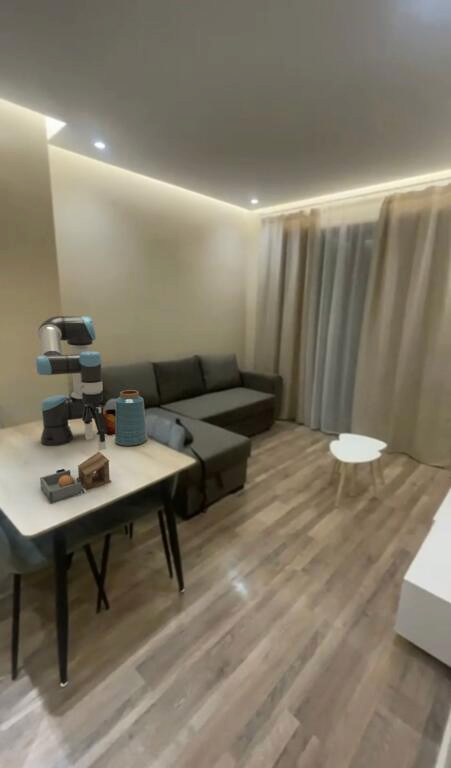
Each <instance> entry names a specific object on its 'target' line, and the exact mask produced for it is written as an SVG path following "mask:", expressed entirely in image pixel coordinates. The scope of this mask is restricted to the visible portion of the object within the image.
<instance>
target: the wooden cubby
mask: <svg viewBox="0 0 451 768" xmlns="http://www.w3.org/2000/svg"><path fill="white" fill-rule="evenodd" d="M109 462H110V460H109V459H108V458H107V456H105V455H104V454H103V453H101V452H100V451H97V452H96V453H94V454H93V455H92V456H90V457H89V458H87V459H86V460H84V461H83V462H82V463H80V464H78V465H77V469H78V477H76V481H77V483H79V482H81V487H82V488H84V489H83V490H84V491H90V490H93V489H95V488H99V487H102V486H105V485H108V484H112V480H111V479H110V464H109Z"/></svg>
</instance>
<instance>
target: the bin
mask: <svg viewBox="0 0 451 768" xmlns="http://www.w3.org/2000/svg"><path fill="white" fill-rule="evenodd" d="M64 475H68V476H70V477H71V478H72V480H73V482H72V485H68V486H65V487H62V488H61V487H60V486H59V485H58V481H59V479H60V478H61V477H62V476H64ZM39 480H40V490H42V492H43V494H44V495H45V497H46V498H47V500H48V501H49V504H53V503H54V504H55V503H57V502H60V501H63V500H66V499H69V498H73V497H76V496H79V495H82V494H83V492H82V490H81V488H82V485H81V482H78V481H77V480H75V478H74V477H73V476H72V475H71V470H70V469H67V470H65V471H63V472H59V473H56V472H55V473H52V474H49V475H44V476H41V477H39Z"/></svg>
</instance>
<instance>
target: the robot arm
mask: <svg viewBox="0 0 451 768" xmlns="http://www.w3.org/2000/svg"><path fill="white" fill-rule="evenodd" d="M37 334H38V335H37V336H38V338H39V341H40V345H41V347H40V348H41V355H37V356H36V357H35V364H36V372H37V375H39V376H51V375H53V376H54V375H55V376H56V375H68V374H69V375H70V374H71V375H72V381H73V384H72V385H73V391H72V393H71V394H70V397H67V395H65V394H58V395H52V396H49V397H47V398H44V399H43V400H42V401H41V412H42V425H43V428H42V433H41V437H40V443H41V444H42V445H45V446H51V447H52V446H60V445H64V444H68V443H70V442H72V440H73V439H74V433H73V432H72V429H71V427H70V425H69V421H73V420H82V422H83V423H84V432H85V440H91V439H94V433H93V422H94V424H95V426H96V429H97V432H96V436H97V437H96V438H97V450H98V451H102V450H105V449H107V445H106V444H107V443H106V435H105V433H107V432H108V431H107V426H106V422H105V418H104V413H103V411H104V407H103V406H100V403H102V402H103V401H104V392H103V390H104V389H103V388H104V387H103V385H104V384H103V376H102V375H103V374H102V357H101V356H102V355H101V353H100V352H99V351H96V350H95V351H93V350H92V351H91V350H90V349H91V348H90V347H91V346H92V345H93V341H95V340H97V337H96V330H95V327H94V323H93V319H92V318H91V317H90V316H82V315H78V316H77V315H73V316H71V315H70V316H69V315H65V316H63V315H62V316H61V315H57V316H52V317H50V318H48V319H46V320H44V321H43V322H42V323H41V324H40V326H39V328H38V331H37ZM61 341H64V342H65V341H66V342H67V346H69V347H70V352H71V354H63V350H62V344H61ZM93 420H94V421H93ZM73 441H74V440H73Z"/></svg>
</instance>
